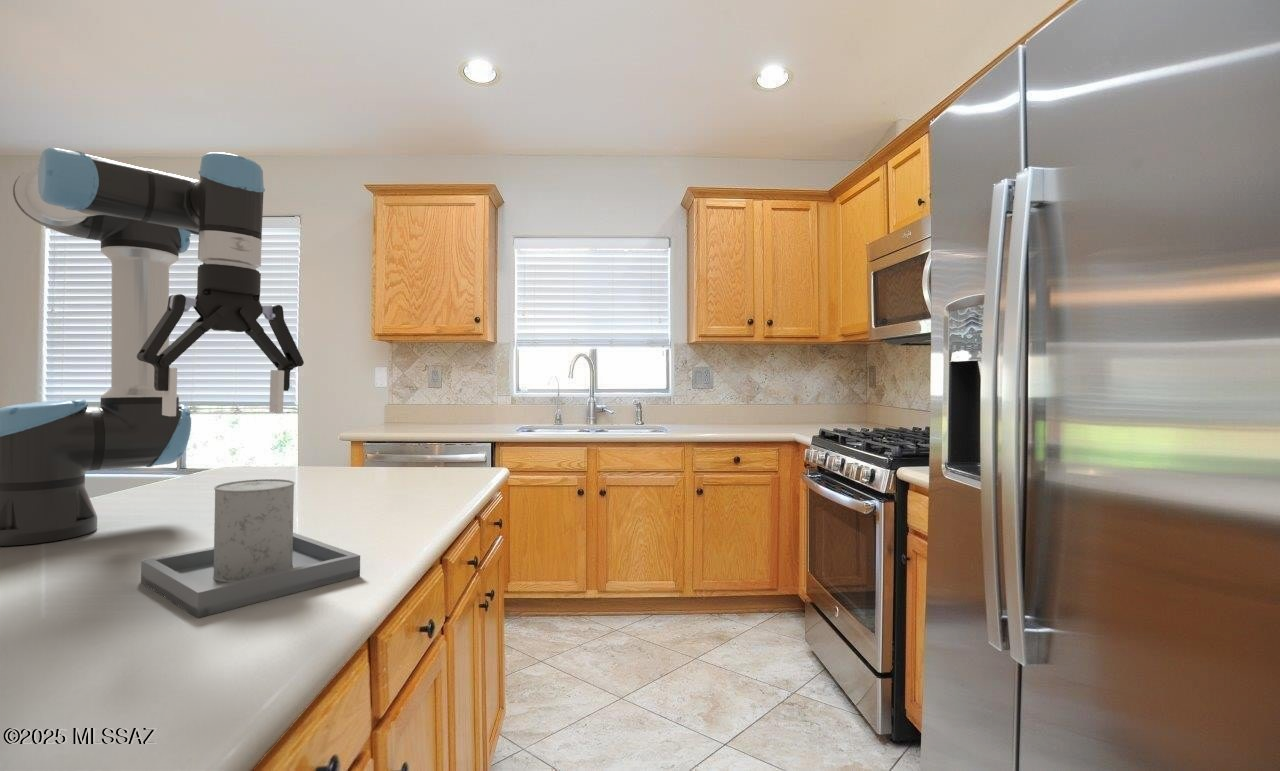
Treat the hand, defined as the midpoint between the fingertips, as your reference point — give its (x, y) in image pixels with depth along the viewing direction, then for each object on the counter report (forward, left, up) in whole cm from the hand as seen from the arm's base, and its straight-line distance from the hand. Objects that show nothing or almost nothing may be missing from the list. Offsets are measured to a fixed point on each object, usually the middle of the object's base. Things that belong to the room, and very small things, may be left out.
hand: (225, 414), depth 88 cm
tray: (+6, +2, -23) cm, 24 cm away
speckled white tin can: (+6, +2, -22) cm, 23 cm away
